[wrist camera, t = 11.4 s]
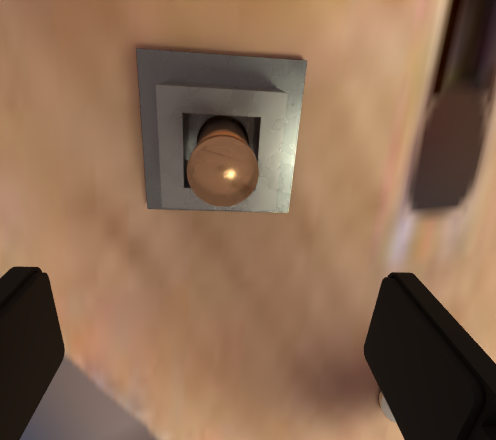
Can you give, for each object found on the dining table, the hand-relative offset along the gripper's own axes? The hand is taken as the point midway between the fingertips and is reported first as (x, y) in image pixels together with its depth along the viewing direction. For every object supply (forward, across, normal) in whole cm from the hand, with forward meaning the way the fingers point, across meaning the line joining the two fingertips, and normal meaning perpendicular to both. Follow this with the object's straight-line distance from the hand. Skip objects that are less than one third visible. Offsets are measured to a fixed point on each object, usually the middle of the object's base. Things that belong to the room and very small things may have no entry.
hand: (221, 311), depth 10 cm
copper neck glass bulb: (+23, 0, 0) cm, 23 cm away
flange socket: (+24, 0, 0) cm, 24 cm away
